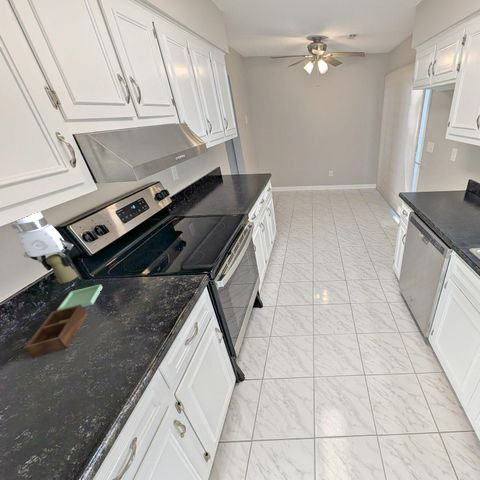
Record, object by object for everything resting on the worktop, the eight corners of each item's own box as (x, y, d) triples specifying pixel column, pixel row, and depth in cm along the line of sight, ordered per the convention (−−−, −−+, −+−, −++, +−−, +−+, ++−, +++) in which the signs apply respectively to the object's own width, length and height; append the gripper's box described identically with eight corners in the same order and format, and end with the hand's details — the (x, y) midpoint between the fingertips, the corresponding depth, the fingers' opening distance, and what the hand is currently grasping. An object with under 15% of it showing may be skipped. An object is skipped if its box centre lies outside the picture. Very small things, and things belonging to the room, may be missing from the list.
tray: (59, 313, 101) (56, 309, 100) (72, 294, 111) (70, 291, 110) (92, 304, 104) (90, 301, 103) (102, 287, 114) (100, 284, 113)
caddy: (33, 358, 82) (23, 348, 80) (58, 321, 97) (51, 311, 94) (67, 348, 85) (59, 338, 83) (87, 313, 99) (81, 304, 97)
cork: (76, 279, 101) (61, 255, 96) (57, 285, 99) (40, 261, 93) (78, 272, 106) (64, 249, 101) (60, 277, 103) (44, 255, 98)
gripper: (-6, 234, 85) (27, 277, 94) (56, 223, 90) (82, 265, 99) (8, 226, 91) (38, 267, 100) (66, 216, 96) (89, 256, 105)
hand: (60, 266), depth 99 cm, fingers closed on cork, 5 cm apart
